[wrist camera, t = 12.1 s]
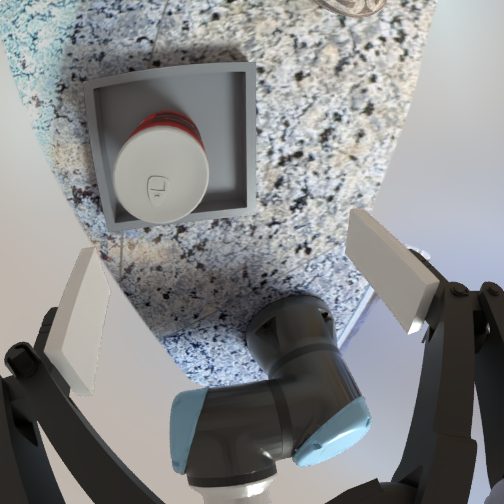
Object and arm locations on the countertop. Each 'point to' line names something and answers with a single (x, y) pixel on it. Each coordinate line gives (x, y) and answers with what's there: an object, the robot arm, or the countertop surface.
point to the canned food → (162, 168)
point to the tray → (194, 107)
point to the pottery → (352, 7)
